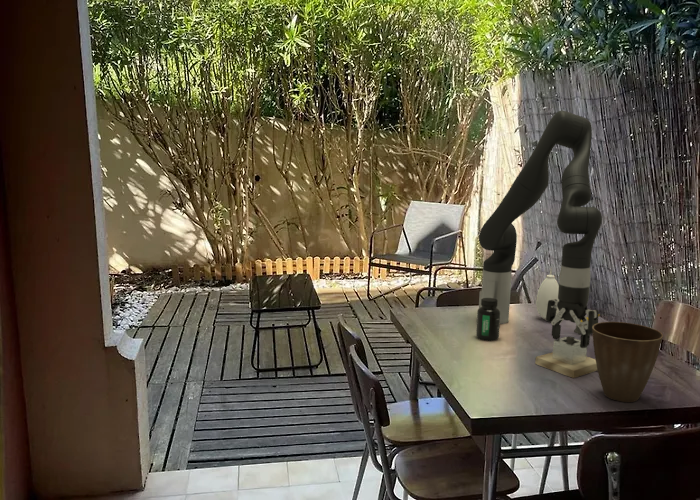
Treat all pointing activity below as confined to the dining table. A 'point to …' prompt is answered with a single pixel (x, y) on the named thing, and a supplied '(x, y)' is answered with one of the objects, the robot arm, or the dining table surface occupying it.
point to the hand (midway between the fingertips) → (569, 343)
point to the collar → (568, 351)
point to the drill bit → (579, 328)
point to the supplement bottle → (488, 320)
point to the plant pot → (625, 358)
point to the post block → (566, 368)
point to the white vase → (547, 294)
